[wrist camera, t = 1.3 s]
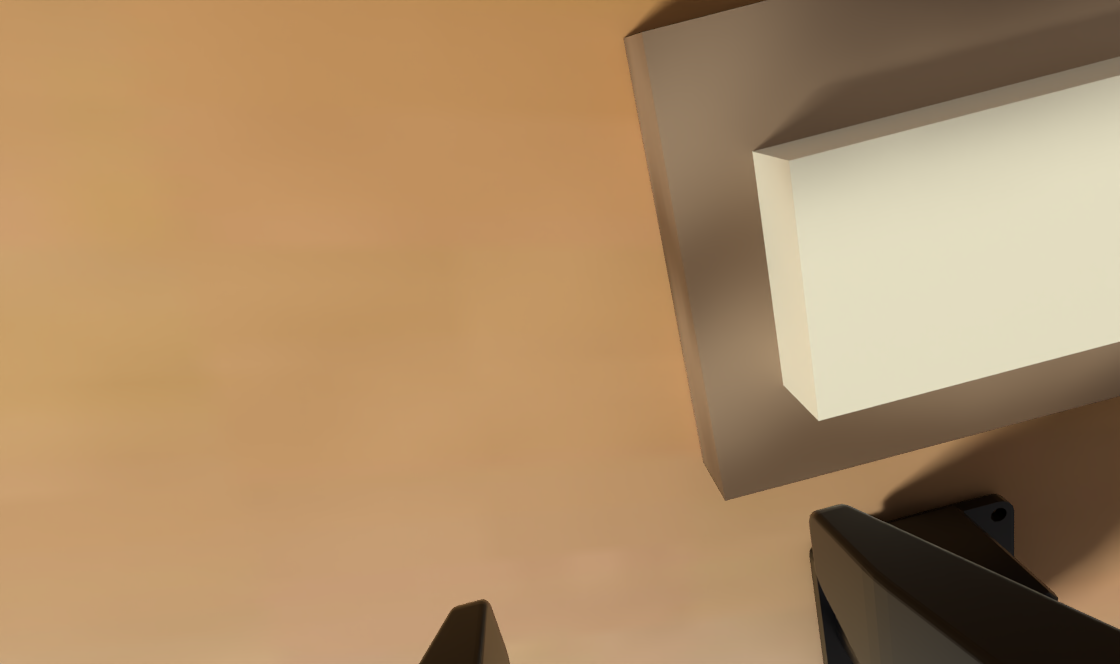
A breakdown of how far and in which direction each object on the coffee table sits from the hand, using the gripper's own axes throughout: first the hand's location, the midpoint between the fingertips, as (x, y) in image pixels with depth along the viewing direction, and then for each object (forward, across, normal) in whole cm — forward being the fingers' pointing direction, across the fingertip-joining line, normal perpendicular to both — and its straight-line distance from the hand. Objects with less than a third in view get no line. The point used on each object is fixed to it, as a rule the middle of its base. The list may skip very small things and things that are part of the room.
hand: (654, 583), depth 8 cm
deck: (+11, -9, 0) cm, 14 cm away
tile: (+9, -10, 0) cm, 13 cm away
